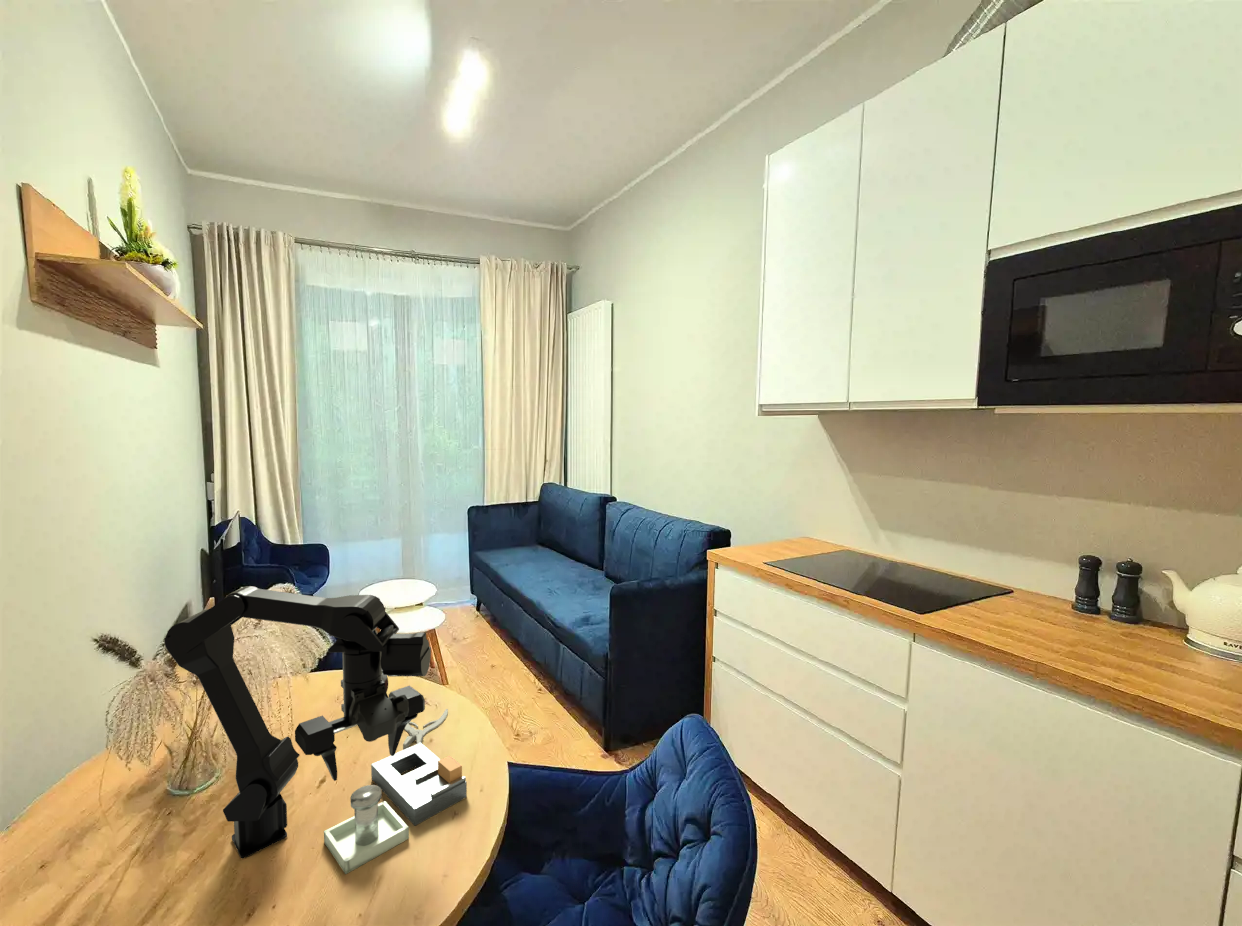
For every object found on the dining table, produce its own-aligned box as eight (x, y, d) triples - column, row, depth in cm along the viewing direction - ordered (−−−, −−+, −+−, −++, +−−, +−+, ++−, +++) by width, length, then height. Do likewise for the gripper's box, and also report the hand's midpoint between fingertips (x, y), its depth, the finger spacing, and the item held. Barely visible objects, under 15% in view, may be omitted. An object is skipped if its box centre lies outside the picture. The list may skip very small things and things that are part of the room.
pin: (358, 853, 87) (357, 808, 86) (346, 838, 90) (345, 794, 90) (387, 837, 90) (386, 794, 90) (375, 823, 93) (374, 781, 93)
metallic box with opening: (414, 825, 94) (414, 805, 93) (371, 779, 106) (371, 760, 105) (466, 797, 101) (466, 778, 101) (420, 756, 113) (420, 739, 113)
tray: (345, 874, 84) (345, 862, 83) (324, 842, 90) (323, 831, 90) (408, 838, 91) (408, 827, 91) (385, 811, 97) (384, 800, 97)
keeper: (450, 784, 100) (450, 771, 100) (438, 773, 103) (437, 760, 103) (462, 778, 101) (461, 765, 101) (449, 767, 104) (449, 755, 104)
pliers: (448, 705, 131) (435, 742, 116) (448, 711, 131) (435, 749, 116) (405, 707, 129) (386, 745, 115) (405, 714, 130) (386, 752, 115)
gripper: (316, 716, 77) (319, 821, 78) (440, 673, 90) (440, 763, 92) (292, 688, 85) (295, 784, 86) (409, 653, 98) (410, 736, 99)
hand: (364, 766), depth 91 cm, fingers open, 9 cm apart
